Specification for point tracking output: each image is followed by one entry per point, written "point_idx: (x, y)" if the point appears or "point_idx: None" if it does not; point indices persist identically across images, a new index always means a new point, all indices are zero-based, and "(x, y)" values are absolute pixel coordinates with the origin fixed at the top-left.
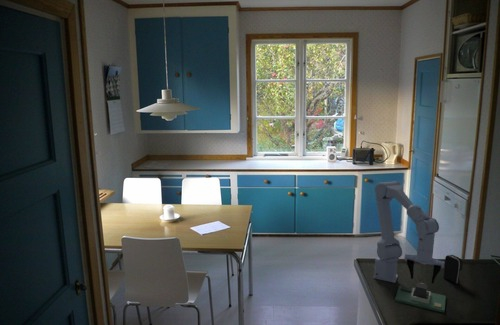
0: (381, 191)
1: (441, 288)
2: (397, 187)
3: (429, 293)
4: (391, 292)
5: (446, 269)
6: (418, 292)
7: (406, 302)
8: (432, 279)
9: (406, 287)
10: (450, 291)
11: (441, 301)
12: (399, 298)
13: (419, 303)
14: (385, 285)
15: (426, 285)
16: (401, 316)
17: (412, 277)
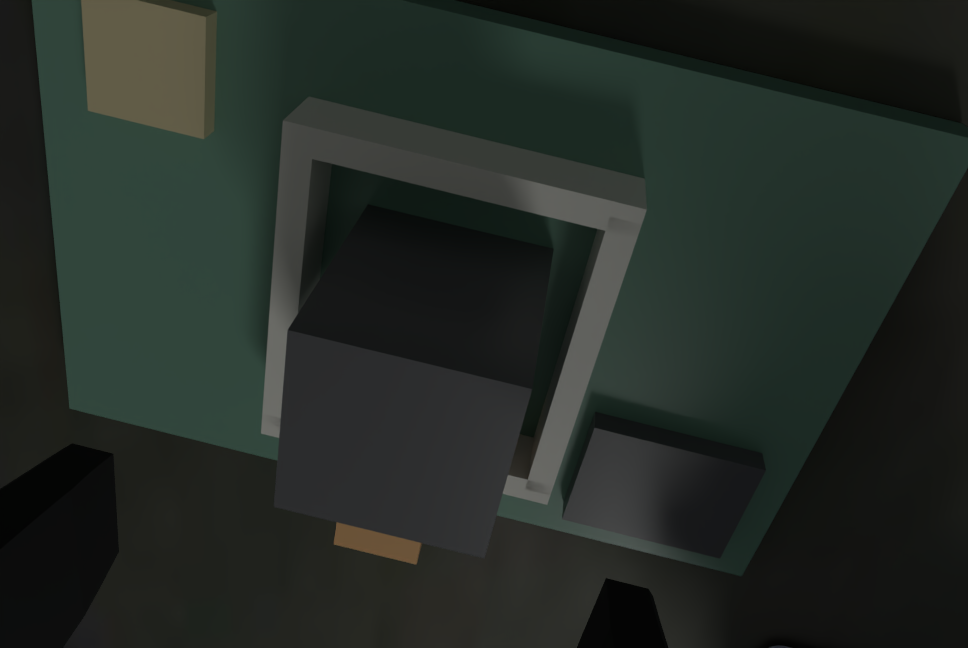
0: None
1: (161, 589)
2: None
3: (281, 373)
4: (923, 402)
5: None
6: (480, 302)
7: (745, 77)
8: (16, 523)
9: (647, 522)
10: None
11: (110, 234)
12: (876, 168)
13: (490, 60)
14: (954, 575)
15: (290, 476)
16: None
17: (617, 612)
